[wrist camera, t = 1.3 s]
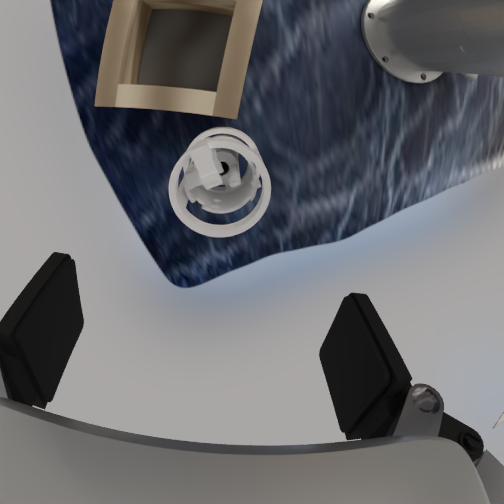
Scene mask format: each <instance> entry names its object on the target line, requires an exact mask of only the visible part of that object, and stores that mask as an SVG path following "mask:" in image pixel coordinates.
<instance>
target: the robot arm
mask: <svg viewBox="0 0 504 504" xmlns="http://www.w3.org/2000/svg"><path fill="white" fill-rule="evenodd" d="M368 16H369V17H370V18H369V17H368ZM361 29H362V35H363V38H364V41H365V44H366V46H367V48H368V50H369V52H370V54H371V55H372V56H373V58H374V59H375V61H376V62H377V63H378V64H379V65H380V66H381V67H382V68H383V69H384V70H385V71H387V72H388V73H389V74H390V75H392V76H394V77H396V78H398V79H400V80H403V81H406V82H411V83H426V82H430V81H432V80H435V79H436V78H438V77H439V76H440V75H441V74H442V73H443V72H455V73H460V74H461V75H463V76H464V77H466V78H467V79H469V80H470V81H474V80H476V78H477V76H478V74H479V75H488V76H496V77H503V78H504V0H368V1H367V3H366V5H365V7H364V8H363V12H362V16H361ZM382 58H383V59H384V61H383V60H382ZM83 324H84V319H83V314H82V308H81V302H80V295H79V289H78V282H77V274H76V266H75V261H74V260H73V259H71V257H70V255H69V254H64V253H58V252H54V253H53V254H52V255H51V256H50V257H49V258H48V260H47V261H46V262H45V263H44V264H43V265H42V267H41V268H40V269H39V270H38V272H37V273H36V274H35V275H34V277H33V278H32V279H31V280H30V282H29V283H28V284H27V286H26V287H25V288H24V290H23V291H22V292H21V293H20V295H19V296H18V298H17V299H16V300H15V302H14V303H13V304H12V306H11V307H10V308H9V310H8V311H7V313H6V314H5V316H4V317H3V319H2V320H1V322H0V504H504V466H503V465H502V464H501V463H500V462H499V461H498V460H497V459H496V458H495V457H494V456H493V455H492V454H491V453H490V452H489V451H487V450H486V451H484V452H483V448H484V445H483V441H482V439H481V436H480V435H479V434H478V433H477V432H476V431H475V430H474V429H472V428H470V427H469V426H467V425H465V424H463V423H462V422H460V421H458V420H456V419H455V418H453V417H451V416H450V415H448V414H446V413H444V412H443V411H444V402H443V399H442V397H441V396H440V394H439V393H438V392H437V391H436V390H435V389H434V388H432V387H431V386H429V385H426V384H415V385H414V386H412V385H411V383H410V381H411V380H412V377H411V375H410V373H409V371H408V369H407V367H406V365H405V363H404V361H403V359H402V357H401V355H400V353H399V352H398V350H397V348H396V346H395V344H394V342H393V340H392V338H391V337H390V335H389V333H388V331H387V329H386V328H385V326H384V324H383V322H382V321H381V319H380V317H379V315H378V313H377V311H376V310H375V308H374V306H373V304H372V303H371V301H370V299H369V297H368V296H367V295H366V294H360V293H350V294H349V295H348V296H346V297H344V299H343V301H342V303H341V306H340V308H339V310H338V312H337V314H336V317H335V319H334V321H333V323H332V325H331V327H330V329H329V332H328V334H327V336H326V338H325V340H324V342H323V344H322V347H321V349H320V353H319V356H320V361H321V364H322V367H323V371H324V374H325V377H326V381H327V384H328V387H329V391H330V395H331V398H332V402H333V405H334V408H335V412H336V416H337V419H338V423H339V426H340V430H341V431H342V432H343V433H345V435H346V439H347V440H353V439H360V438H361V440H356V441H347V442H335V443H324V444H309V445H284V446H253V445H226V444H211V443H198V442H189V441H180V440H171V439H164V438H157V437H151V436H145V435H140V434H134V433H128V432H124V431H118V430H113V429H109V428H105V427H101V426H96V425H93V424H88V423H85V422H81V421H77V420H74V419H70V418H67V417H63V416H60V415H56V414H53V413H50V412H46V411H43V410H40V409H37V408H34V407H32V406H33V405H34V406H37V407H40V408H43V409H45V408H46V405H47V402H51V401H52V400H53V397H54V395H55V392H56V390H57V387H58V384H59V382H60V379H61V377H62V375H63V372H64V370H65V367H66V365H67V363H68V360H69V357H70V355H71V353H72V351H73V349H74V346H75V344H76V342H77V340H78V338H79V335H80V333H81V331H82V328H83Z"/></svg>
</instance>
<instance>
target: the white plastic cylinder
mask: <svg viewBox="0 0 504 504" xmlns="http://www.w3.org/2000/svg"><path fill="white" fill-rule="evenodd" d="M221 133H224V134H231V135H234V136H237V137H239V138H241V139H242V140H243V141H245V142H246V143H247V144H248V145H249V147H248V146H247V145H245V144H244V143H243V142H242V141H241V140H239V139H237V138H235V137H233V136H229V135H216V136H213V137H208V136H211V135H214V134H221ZM206 137H208V138H206ZM204 138H205V139H204ZM238 153H240V154H241V155H242V156H244V157H245V159H246V160H247V161H248V166H247V170H246V173H245V175H244V176H243V178H242V179H241V180H240V171H239V161H238ZM190 158H192V159H191V162H190ZM221 162H226V164H221ZM254 164H255V167H254ZM182 167H183V169H184V178H183V180H182V182H181V183H180V185H179V187H178V179H179V175H180V172H181V169H182ZM260 175H261V178H262V193H261V197H260V199H259V202H258V204H257V205H256V207H255V208H254V210H253V211H252V212H251V213H250V214H249V215H247V216H246V217H245V218H243V219H241V220H240V221H237V222H235V223H231V224H227V225H214V224H209V223H205V222H203V221H201V220H199V219H197V218H196V217H194V216H193V215H192V214H191V213H189V211H188V210H187V209H186V205H187V202H188V199H189V200H190V201H191V203H193V202H195V201H196V200H197V201H198V202H199V203H200V204H202V209H204V210H206V211H209V212H212V213H229V212H232V211H235V210H237V209H239V208H241V207H242V206H244V205H245V204H246V203H247V202H248V201H249V200H251V202H252V200H253V199H254V197H255V194H256V191H257V188H260V187H261V184H260V181H259V176H260ZM218 185H225V187H216V186H218ZM270 195H271V183H270V178H269V174H268V172H267V169H266V167H265V165H264V163H263V160H262V158H261V156H260V154H259V151H258V149H257V147H256V145H255V143H254V142H253V141H252V140H251V138H250V137H249V136H247V135H246V134H245V133H243V132H242V131H240V130H237V129H234V128H231V127H215V128H211V129H208V130H206V131H204V132H202V133H201V134H200V135H198V136H197V137H196V138H195V139H194V140H193V141H192V143H191V144H190V146H189V147H188V149H187V151H186V152H185V153H184V154H183V155H182V157H181V158H180V159H179V161H178V162H177V163H176V165H175V167H174V169H173V171H172V173H171V176H170V181H169V198H170V202H171V205H172V207H173V210H174V211H175V213H176V215H177V216H178V218H179V219H180V220H181V221H182V222H183V223H184V224H185V225H186V226H188V227H189V228H190V229H192V230H194V231H195V232H198V233H200V234H203V235H206V236H211V237H229V236H234V235H237V234H240V233H242V232H244V231H246V230H248V229H249V228H251V227H252V226H253V225H254V224H256V223H257V222H258V221H259V219H260V218H261V217H262V216H263V214H264V212H265V211H266V209H267V206H268V204H269V200H270Z"/></svg>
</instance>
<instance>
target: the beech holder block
mask: <svg viewBox="0 0 504 504" xmlns="http://www.w3.org/2000/svg"><path fill="white" fill-rule="evenodd" d="M262 1H263V0H114V1H113V5H112V9H111V13H110V17H109V21H108V26H107V30H106V35H105V40H104V45H103V50H102V56H101V62H100V68H99V74H98V81H97V89H96V97H95V106H102V107H127V108H144V109H156V110H168V111H178V112H187V113H195V114H203V115H210V116H217V117H224V118H230V119H237V116H238V110H239V105H240V100H241V96H242V91H243V86H244V81H245V76H246V71H247V67H248V62H249V57H250V53H251V48H252V44H253V39H254V35H255V30H256V26H257V22H258V18H259V13H260V9H261V5H262Z"/></svg>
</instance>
